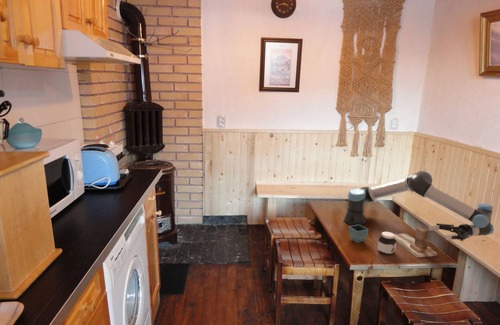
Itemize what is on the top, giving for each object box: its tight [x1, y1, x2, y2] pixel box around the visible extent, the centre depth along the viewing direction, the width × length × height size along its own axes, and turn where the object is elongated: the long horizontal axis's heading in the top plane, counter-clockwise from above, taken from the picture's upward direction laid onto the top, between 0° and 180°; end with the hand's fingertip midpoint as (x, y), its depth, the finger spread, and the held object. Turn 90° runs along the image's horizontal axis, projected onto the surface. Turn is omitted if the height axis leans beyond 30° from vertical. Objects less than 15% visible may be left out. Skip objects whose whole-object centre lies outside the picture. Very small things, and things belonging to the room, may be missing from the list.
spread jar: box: [377, 231, 398, 256], centre depth 200 cm, size 12×11×12 cm
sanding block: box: [410, 226, 433, 253], centre depth 198 cm, size 9×7×13 cm
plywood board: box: [393, 233, 438, 258], centre depth 207 cm, size 13×28×2 cm, turn 11°
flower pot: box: [348, 225, 369, 244], centre depth 212 cm, size 9×9×9 cm
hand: (437, 232), depth 199 cm, fingers open, 13 cm apart
